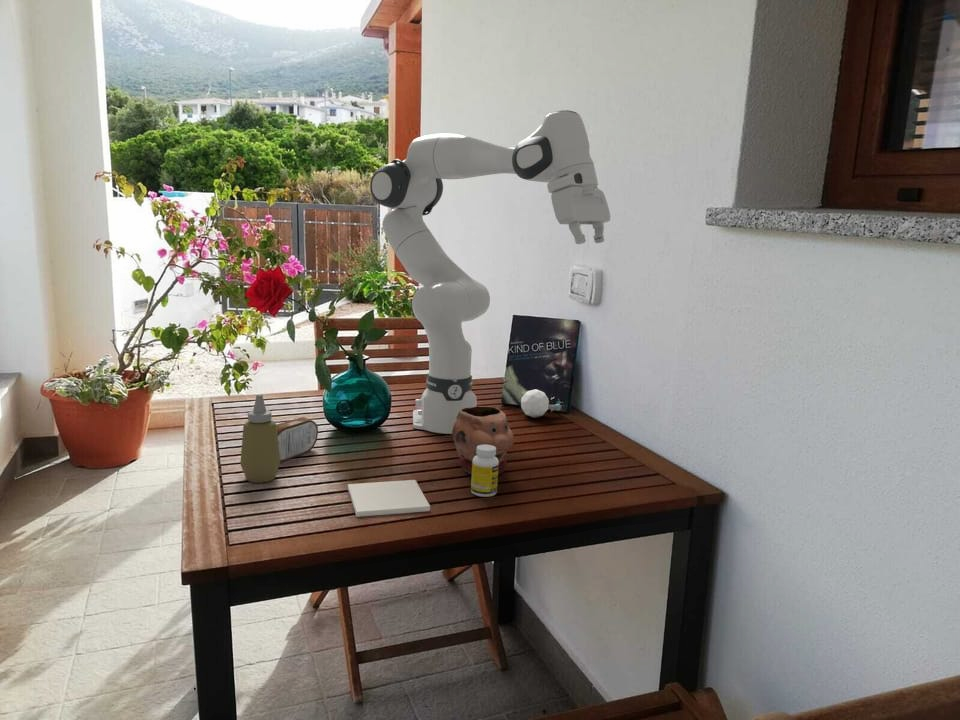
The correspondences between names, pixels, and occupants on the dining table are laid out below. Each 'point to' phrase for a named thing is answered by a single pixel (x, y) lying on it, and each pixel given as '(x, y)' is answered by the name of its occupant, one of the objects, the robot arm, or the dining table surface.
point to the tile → (387, 498)
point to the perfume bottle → (536, 403)
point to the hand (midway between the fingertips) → (590, 243)
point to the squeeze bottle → (260, 445)
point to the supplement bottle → (484, 471)
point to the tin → (296, 437)
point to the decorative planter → (481, 434)
